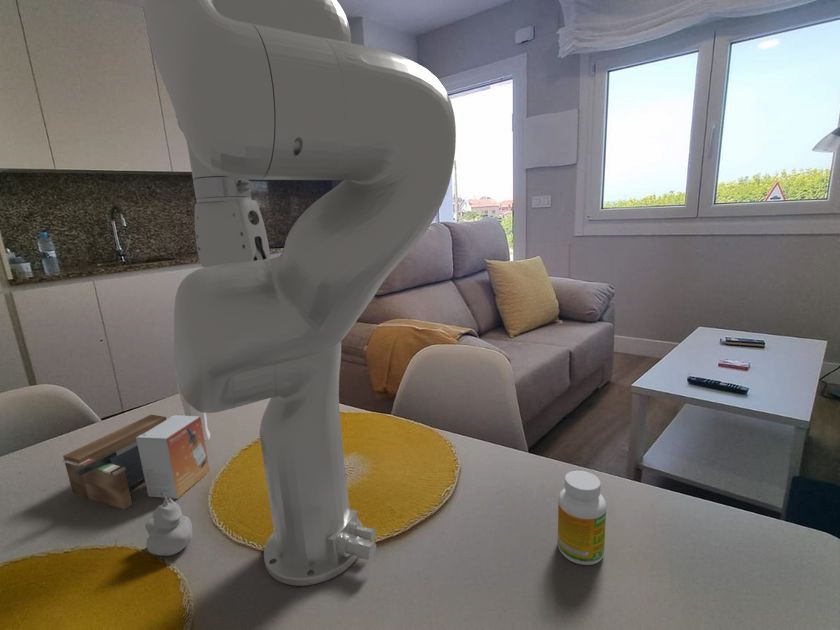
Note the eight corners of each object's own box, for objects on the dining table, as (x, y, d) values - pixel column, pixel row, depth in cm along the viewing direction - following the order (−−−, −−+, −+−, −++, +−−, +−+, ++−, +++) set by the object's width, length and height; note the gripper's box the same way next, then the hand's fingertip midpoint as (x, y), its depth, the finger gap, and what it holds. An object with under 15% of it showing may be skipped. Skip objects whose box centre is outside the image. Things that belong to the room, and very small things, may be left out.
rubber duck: (173, 568, 54) (161, 512, 52) (134, 558, 56) (121, 504, 54) (206, 538, 59) (196, 486, 57) (169, 529, 61) (159, 479, 59)
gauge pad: (183, 454, 79) (177, 421, 78) (89, 510, 64) (79, 472, 63) (173, 451, 80) (166, 419, 79) (77, 507, 65) (67, 468, 64)
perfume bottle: (218, 435, 88) (206, 365, 84) (197, 445, 84) (184, 373, 81) (205, 430, 90) (193, 362, 87) (184, 440, 87) (171, 369, 83)
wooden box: (205, 457, 80) (199, 422, 78) (123, 510, 66) (113, 469, 64) (158, 447, 84) (151, 414, 83) (71, 495, 70) (61, 456, 69)
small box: (177, 500, 68) (165, 439, 65) (147, 497, 69) (134, 437, 66) (211, 471, 75) (201, 415, 73) (183, 469, 76) (172, 414, 74)
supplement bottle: (599, 573, 50) (602, 499, 48) (552, 556, 53) (553, 485, 50) (607, 543, 54) (610, 474, 52) (563, 528, 57) (565, 462, 55)
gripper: (281, 189, 65) (296, 309, 69) (203, 197, 70) (221, 308, 74) (247, 187, 58) (265, 320, 62) (163, 195, 63) (185, 318, 67)
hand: (241, 313), depth 68 cm, fingers closed
